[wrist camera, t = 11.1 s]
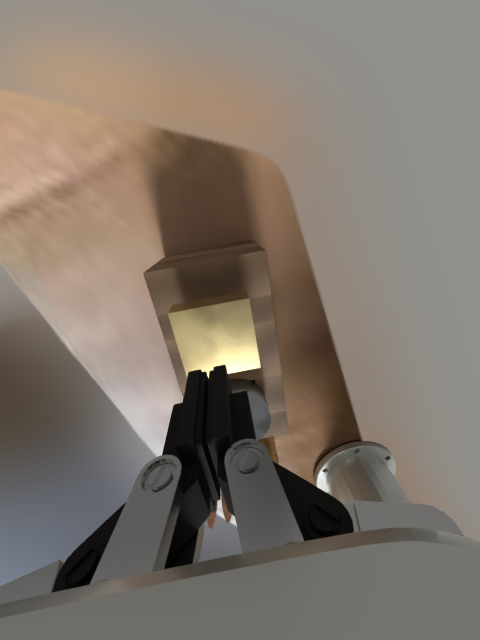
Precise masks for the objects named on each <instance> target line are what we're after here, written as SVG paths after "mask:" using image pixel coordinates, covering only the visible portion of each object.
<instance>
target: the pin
mask: <svg viewBox="0 0 480 640" xmlns="http://www.w3.org/2000/svg"><path fill="white" fill-rule="evenodd" d="M229 381H230V385H231V390H232V393H236V392H241V391H246V390H247V393H248V398H249V403H250V408H251V413H252V418H253V424H254V430H255V435H256V440H258V441H259V440H260V439H261V438H262V437H264V436H265V434H266V433H267V431H268V430H269V427H270V424H271V416H270V412H269V408H268V405H267V401H266V397H265V394H264V391H263V390H262V388H261V387H260V386H259V385H258V384H256V383H255V382H253V381H251V380H248V379H244V378H233V379H229Z"/></svg>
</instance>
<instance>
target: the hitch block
mask: <svg viewBox="0 0 480 640" xmlns="http://www.w3.org/2000/svg"><path fill="white" fill-rule="evenodd" d="M143 274H144V277H145V280H146V283H147V286H148V289H149V293H150V296H151V299H152V302H153V305H154V308H155V311H156V314H157V317H158V321H159V324H160V327H161V330H162V333H163V336H164V339H165V342H166V345H167V349H168V352H169V355H170V358H171V361H172V364H173V367H174V370H175V373H176V377H177V380H178V383H179V386H180V389H181V392H182V395H183V398H184V393H185V387H186V382H187V376H186V373H185V369H184V366H183V363H182V359H181V356H180V353H179V349H178V346H177V343H176V340H175V336H174V333H173V330H172V326H171V323H170V320H169V316H168V312H169V310H170V308H171V306H172V305H175V304H181V303H186V302H191V301H196V300H202V299H207V298H212V297H218V296H223V295H228V294H234V293H239V292H244V291H247V293H248V296H249V299H250V306H251V312H252V318H253V324H254V330H255V336H256V342H257V348H258V354H259V360H260V366H261V368H256V369H250V370H245V371H240V372H235V373H230V374H228V377H229V379H233V378H244V379H248V380H251V381H253V382H255V383H256V384H258V385H259V386H260V387H261V388H262V390H263V391H264V394H265V397H266V401H267V405H268V408H269V412H270V416H271V424H270V427H269V430H268V431H267V433H266V434H265V436H264V437H262V438H267V437H273V436H278V435H283V434H288V433H289V429H288V421H287V413H286V405H285V397H284V389H283V382H282V374H281V366H280V358H279V350H278V343H277V335H276V327H275V319H274V311H273V304H272V296H271V288H270V280H269V272H268V265H267V257H266V250H265V249H263V248H262V247H260V246H259V245H257V244H256V243H255V242H253V241H248V242H242V243H237V244H232V245H226V246H221V247H216V248H210V249H205V250H200V251H194V252H189V253H184V254H178V255H173V256H167V257H164V258H163V259H161V260H160V261H159V262H157V263H156V264H155V265H153V266H152V267H151V268H149V269H148V270H147V271H145V272H144V273H143ZM208 379H209V378H208ZM262 438H261V439H262Z"/></svg>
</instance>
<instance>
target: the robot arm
mask: <svg viewBox="0 0 480 640" xmlns="http://www.w3.org/2000/svg"><path fill="white" fill-rule="evenodd" d="M395 471H396V462H395V459H394V457H393V456H392V455H391V453H390V451H389V450H388V449H387V448H386V447H384V446H382V445H381V444H378V443H375V442H369V441H358V442H351V443H348V444H345V445H342V446H340V447H338V448H336V449H334V450H333V451H331V452H329V453H328V454H327V455H326V456H325V457H324V458H323V459H322V460H321V461H320V462H319V464H318V466H317V468H316V470H315V474H314V480H315V484H316V486H314V485H313V484H311V483H309V482H308V481H306V480H304V479H303V478H301V477H299V476H297V475H296V474H294V473H292V472H291V471H289V470H287V469H286V468H284V467H282V466H280V465H279V464H277V463H275V462H274V461H272V460H271V457H270V455H269V452H268V450H267V448H266V447H265V445H264V444H263V443H261V442H260V441H258V440H256V435H255V430H254V424H253V418H252V413H251V408H250V403H249V398H248V393H247V390H246V391H241V392H236V393H232V390H231V385H230V381H229V377H228V372H227V368H226V365H220V366H215V367H213V370H211V371H209V379H208V376H207V373H206V372H202V370H201V369H200V370H194V371H189V372H188V376H187V382H186V387H185V393H184V398H183V403H179V404H175V405H174V406H173V410H172V414H171V419H170V423H169V427H168V432H167V436H166V441H165V445H164V449H163V454H162V456H159V457H157V458H155V459H153V460H151V461H150V462H149V463H147V464H146V465H145V466H144V468H143V469H142V470H141V472H140V473H139V475H138V477H137V479H136V481H135V484H134V486H133V488H132V491H131V493H130V495H129V497H128V499H127V502H126V503H125V504H123V505H122V506H121V507H120V508H119V509H118V510H117V511H116V512H115V513H114V514H113V515H112V516H111V517H110V518H109V519H108V520H106V521H105V522H104V523H103V524H102V525H101V526H100V527H99V528H98V529H97V530H96V531H95V532H94V533H93V534H92V535H91V536H89V537H88V538H87V539H86V540H85V541H84V542H83V543H82V544H81V545H80V546H79V547H78V548H77V549H76V550H75V551H74V552H73V553H72V554H71V555H70V556H69V557H68V558H67V560H66V561H65V562H63V563H62V562H61V560H58V561H56V562H53V563H51V564H49V565H47V566H45V567H42V568H41V569H38V570H36V571H34V572H31V573H29V574H27V575H25V576H22V577H20V578H18V579H16V580H14V581H11V582H9V583H7V584H5V585H3V586H0V640H480V542H478V541H476V540H473V539H470V538H467V537H464V536H463V534H462V532H461V531H460V529H459V528H458V526H457V525H456V524H455V522H454V521H453V520H452V519H451V518H450V517H448V516H447V515H446V514H445V513H444V512H442V511H440V510H438V509H436V508H435V507H433V506H428V505H424V504H413V503H412V502H411V501H410V499H409V498H408V496H407V495H406V493H405V492H404V490H403V489H402V487H401V486H400V484H399V483H398V482H397V480H396V478H395V477H394V475H395ZM220 487H221V490H222V494H223V497H224V499H225V502H226V505H227V508H228V511H229V512H230V513H231V514H232V515H233V516H235V519H236V524H237V529H238V533H239V538H240V543H241V548H242V553H243V554H238V555H233V556H228V557H223V558H218V559H213V560H208V561H203V562H199V559H200V553H201V547H202V540H203V535H204V524H203V523H204V521H206V519H207V518H208V517H209V515H210V513H211V512H215V511H216V501H217V500H220V496H221V493H220Z"/></svg>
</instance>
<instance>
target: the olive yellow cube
mask: <svg viewBox="0 0 480 640" xmlns="http://www.w3.org/2000/svg"><path fill="white" fill-rule="evenodd" d="M168 316H169V320H170V323H171V326H172V330H173V333H174V336H175V340H176V343H177V346H178V349H179V353H180V356H181V359H182V363H183V366H184V369H185V373H186V376H188V372H189V371H194V370H200V369H201V370H202V372H206V373H207V376H208V378H209V371H211V370H213V367H215V366H220V365H226V368H227V372H228V374H230V373H235V372H240V371H245V370H250V369H256V368H261V366H260V360H259V354H258V348H257V342H256V336H255V330H254V324H253V318H252V312H251V306H250V299H249V296H248V293H247V291H244V292H239V293H234V294H228V295H223V296H218V297H212V298H207V299H202V300H196V301H191V302H186V303H181V304H175V305H172V306H171V308H170V310H169V312H168Z"/></svg>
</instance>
